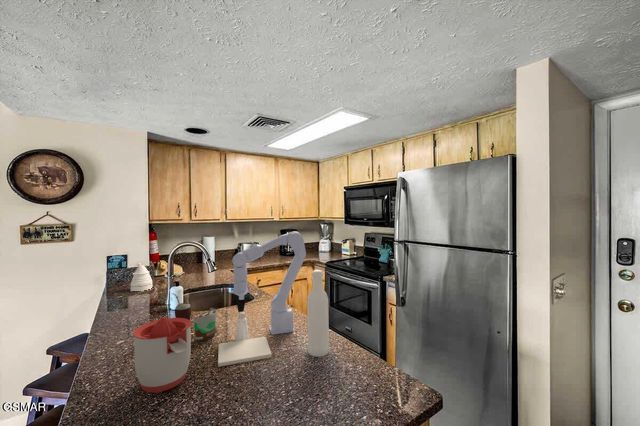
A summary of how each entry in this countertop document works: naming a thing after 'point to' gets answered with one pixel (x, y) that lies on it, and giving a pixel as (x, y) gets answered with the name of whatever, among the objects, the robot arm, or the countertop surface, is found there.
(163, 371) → the citrus juicer
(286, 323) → the robot arm
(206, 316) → the food container
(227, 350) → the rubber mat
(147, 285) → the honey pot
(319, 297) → the bottle
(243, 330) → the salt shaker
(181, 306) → the mate gourd
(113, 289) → the countertop surface
